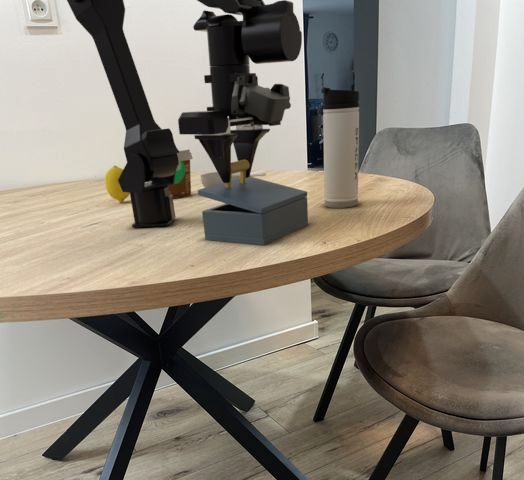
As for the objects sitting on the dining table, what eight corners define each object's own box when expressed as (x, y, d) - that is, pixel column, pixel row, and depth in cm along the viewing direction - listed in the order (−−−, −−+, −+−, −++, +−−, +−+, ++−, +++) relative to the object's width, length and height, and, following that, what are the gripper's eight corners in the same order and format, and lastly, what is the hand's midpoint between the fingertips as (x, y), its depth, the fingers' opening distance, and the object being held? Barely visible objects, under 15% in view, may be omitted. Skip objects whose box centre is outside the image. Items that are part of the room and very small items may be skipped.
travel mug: (317, 204, 99) (315, 89, 90) (349, 200, 101) (349, 86, 92) (330, 210, 94) (329, 87, 85) (363, 205, 95) (365, 85, 86)
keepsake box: (205, 239, 79) (201, 211, 77) (253, 220, 90) (251, 194, 88) (263, 245, 74) (261, 214, 72) (308, 224, 84) (307, 197, 82)
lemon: (127, 204, 114) (120, 166, 110) (104, 205, 115) (97, 167, 112) (137, 199, 119) (131, 163, 115) (115, 200, 120) (109, 164, 116)
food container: (137, 200, 117) (129, 154, 113) (148, 196, 123) (141, 151, 118) (187, 199, 114) (181, 151, 110) (196, 194, 120) (191, 149, 115)
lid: (197, 195, 77) (198, 164, 74) (248, 180, 87) (250, 153, 85) (261, 214, 72) (264, 182, 70) (307, 196, 82) (311, 168, 80)
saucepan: (221, 184, 132) (219, 169, 130) (278, 187, 122) (278, 170, 120) (192, 191, 124) (190, 175, 122) (252, 195, 114) (250, 177, 113)
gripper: (238, 61, 62) (245, 193, 69) (310, 63, 76) (309, 173, 83) (169, 66, 67) (182, 188, 75) (247, 68, 81) (252, 170, 88)
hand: (236, 180), depth 80 cm, fingers closed on lid, 5 cm apart
